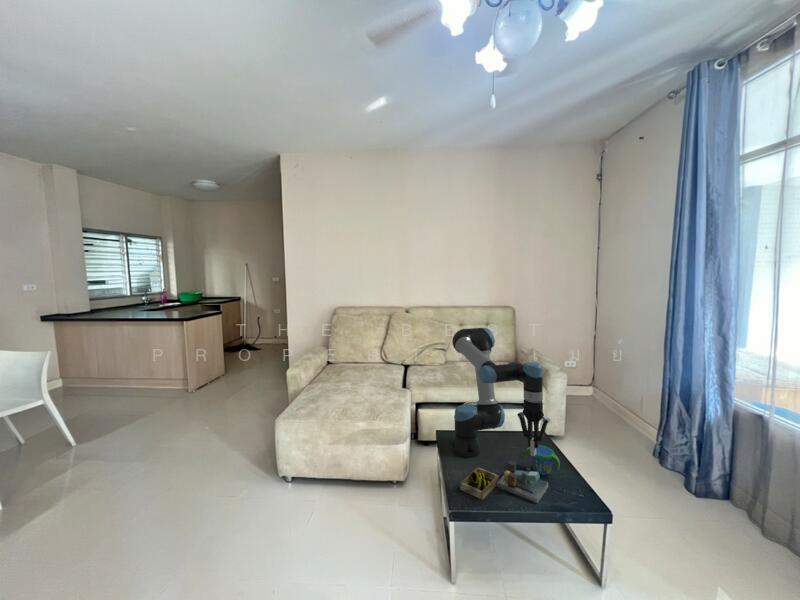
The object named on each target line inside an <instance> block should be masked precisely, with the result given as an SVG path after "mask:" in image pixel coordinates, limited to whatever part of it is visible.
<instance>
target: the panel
mask: <svg viewBox="0 0 800 600" xmlns="http://www.w3.org/2000/svg"><path fill="white" fill-rule="evenodd" d="M525 471H529V472H531V468H530V467H526V468H525ZM496 487H497V488H499V489H501V490H504V491H506V492H509V493H511V494H514V495H516V496H519V497H521V498H523V499H525V500H529V501H530V502H533V503H536V504H538V503H539V501H540V500H541V498H542V497H543V496H544V495H545V492H546V491H547V490H548V488H549V482H548V481H546V480H543V479H541V478H539V479H538V480H537V482H536V481H527V480H526V474H525V473H522V480H519V479H517V485H516V486H515V487H513V486H511V485H508V480H506V479H505V478H504V474H503V475H502V476H501V478H499V481H498V482H497V485H496Z"/></svg>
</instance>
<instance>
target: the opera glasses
mask: <svg viewBox="0 0 800 600" xmlns="http://www.w3.org/2000/svg"><path fill="white" fill-rule="evenodd" d="M470 474H472V478H471V480H472V481H471V482H472V483H473V484H477V489H478V490H481V491H483V490H484V489H485V487H486V486H487V485H490V484H489V483H490V481H489V480H486V478H485V477H484V474H483V473H479V472H476V471H474V470H472V471H471V473H470Z"/></svg>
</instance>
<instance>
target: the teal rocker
mask: <svg viewBox="0 0 800 600" xmlns="http://www.w3.org/2000/svg"><path fill="white" fill-rule="evenodd" d="M522 473H525V474H526V480H527V481H536V482H537V480H538V479H541V477H540V476H541V475H540V474H539V472H534V470H530V472H529V471H526V470H519V469H518V470H516V471H515V472H514V474H517V479H519V480H522Z"/></svg>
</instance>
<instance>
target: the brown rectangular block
mask: <svg viewBox="0 0 800 600" xmlns="http://www.w3.org/2000/svg"><path fill="white" fill-rule="evenodd" d="M508 485H511V486H513V487H515V486H516V485H517V474H514V473H512V472H510V473H509V474H508Z"/></svg>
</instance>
